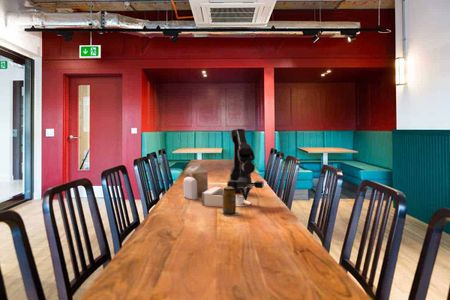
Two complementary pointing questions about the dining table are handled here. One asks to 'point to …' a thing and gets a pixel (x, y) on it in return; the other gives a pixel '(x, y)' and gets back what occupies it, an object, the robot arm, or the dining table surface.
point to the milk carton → (198, 177)
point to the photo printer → (190, 188)
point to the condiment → (229, 202)
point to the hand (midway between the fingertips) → (245, 200)
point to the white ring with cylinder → (241, 201)
